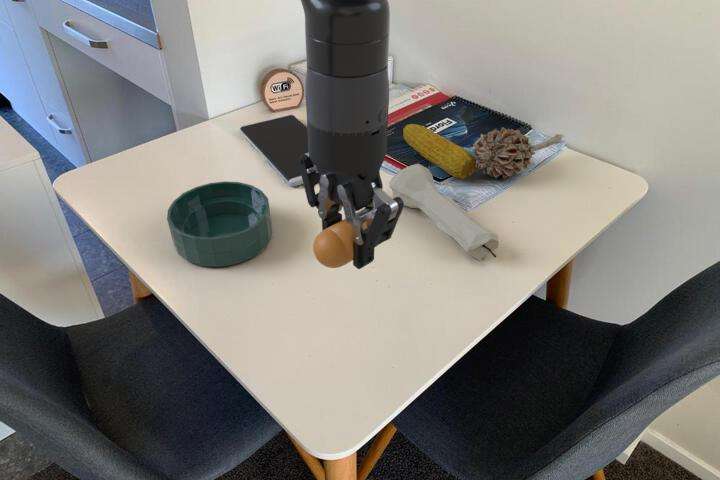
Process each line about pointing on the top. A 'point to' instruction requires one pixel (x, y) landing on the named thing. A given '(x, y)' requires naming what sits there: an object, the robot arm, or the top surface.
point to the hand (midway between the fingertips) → (347, 253)
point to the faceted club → (442, 210)
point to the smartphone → (280, 144)
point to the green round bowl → (220, 223)
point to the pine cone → (506, 152)
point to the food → (440, 151)
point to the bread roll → (335, 245)
